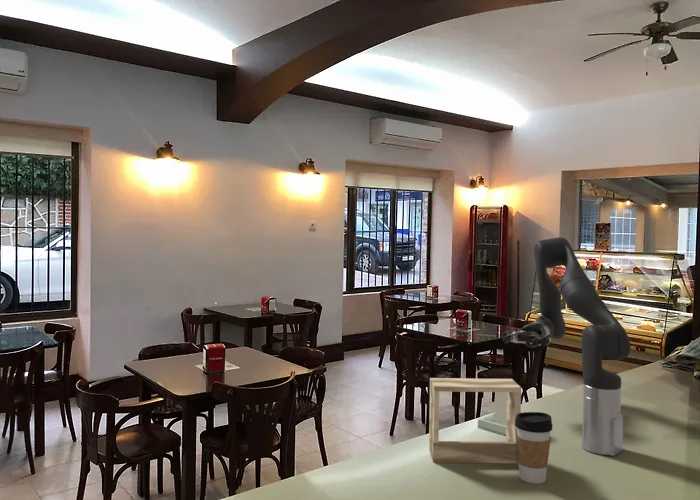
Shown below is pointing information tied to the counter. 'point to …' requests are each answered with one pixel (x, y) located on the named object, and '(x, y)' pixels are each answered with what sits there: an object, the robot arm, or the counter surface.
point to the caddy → (501, 408)
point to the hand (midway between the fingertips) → (519, 341)
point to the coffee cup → (533, 445)
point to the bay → (474, 449)
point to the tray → (491, 424)
